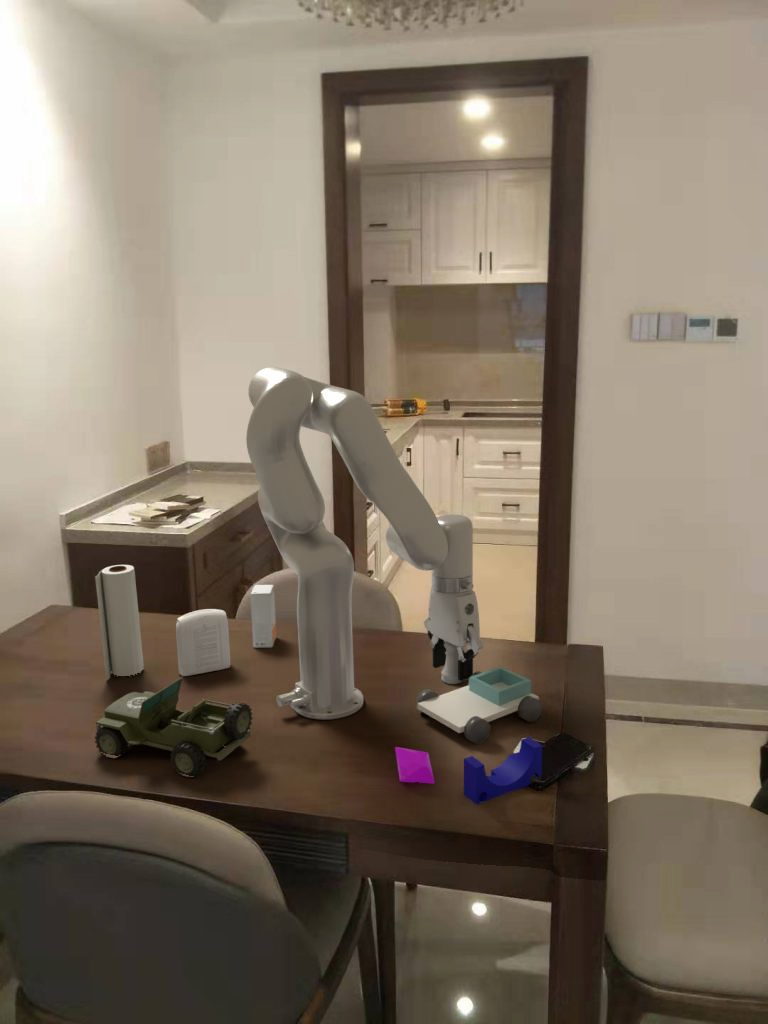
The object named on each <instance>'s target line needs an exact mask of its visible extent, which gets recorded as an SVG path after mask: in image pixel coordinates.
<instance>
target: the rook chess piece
mask: <svg viewBox="0 0 768 1024" xmlns="http://www.w3.org/2000/svg"><path fill="white" fill-rule="evenodd" d="M444 647H445V648H446V652H445V654H446V662H445V665H444V666H443V668H442V670H441V673H440V674H441V675H440V679H441V681H443V682H444V683H446V684H448V685H458V684H460V683H462V682H463V681H460V680H458V660H460V656H459V653H458V649H457V646H455V645H453V644H451V643H449V642H447V641H446V642H445V644H444Z"/></svg>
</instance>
